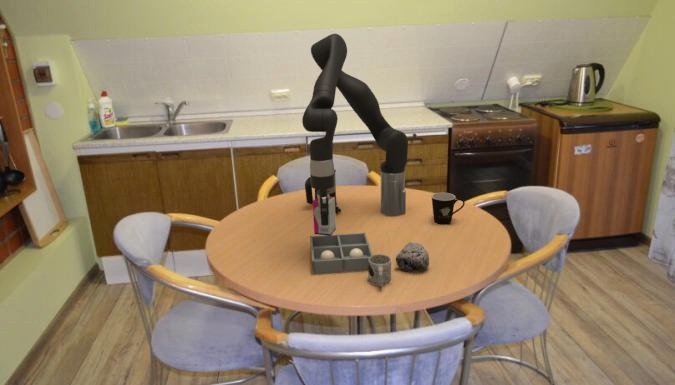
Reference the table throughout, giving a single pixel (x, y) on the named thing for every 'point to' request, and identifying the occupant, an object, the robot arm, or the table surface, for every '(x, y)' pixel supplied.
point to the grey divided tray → (340, 253)
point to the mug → (379, 269)
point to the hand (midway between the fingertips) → (324, 220)
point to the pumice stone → (413, 257)
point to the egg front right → (327, 255)
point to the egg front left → (356, 253)
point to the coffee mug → (444, 207)
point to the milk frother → (309, 190)
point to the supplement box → (331, 218)
